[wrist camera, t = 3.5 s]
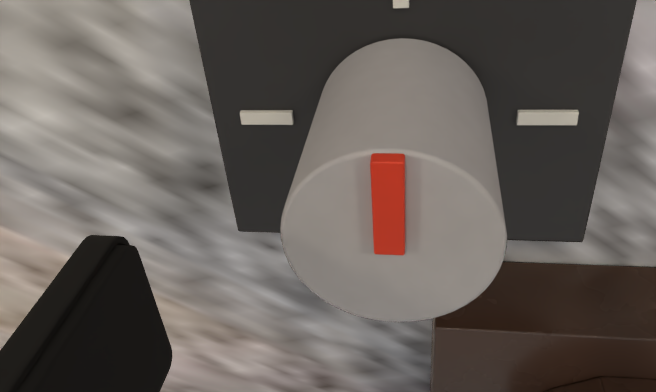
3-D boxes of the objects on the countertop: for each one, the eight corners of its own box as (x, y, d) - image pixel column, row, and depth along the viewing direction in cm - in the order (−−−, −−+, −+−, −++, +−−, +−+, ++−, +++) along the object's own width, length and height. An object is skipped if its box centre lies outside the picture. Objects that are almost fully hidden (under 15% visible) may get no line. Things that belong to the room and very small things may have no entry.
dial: (481, 186, 16) (498, 341, 12) (326, 183, 17) (289, 329, 12) (494, 34, 14) (521, 161, 9) (312, 38, 14) (261, 158, 10)
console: (257, 190, 20) (237, 240, 18) (210, -75, 16) (175, -48, 13) (566, 196, 19) (583, 252, 17) (622, -96, 14) (656, -70, 12)
